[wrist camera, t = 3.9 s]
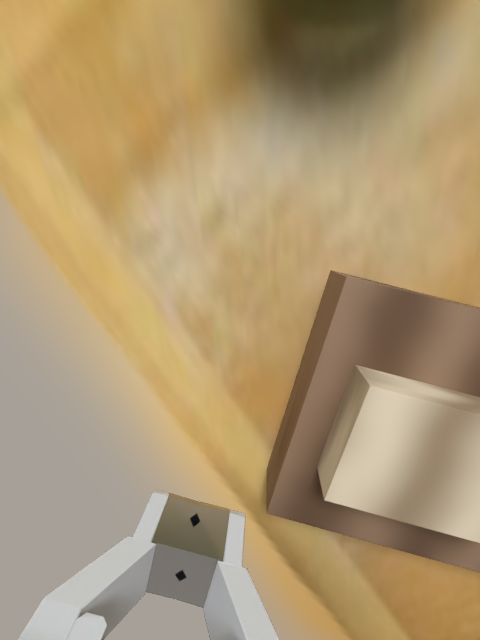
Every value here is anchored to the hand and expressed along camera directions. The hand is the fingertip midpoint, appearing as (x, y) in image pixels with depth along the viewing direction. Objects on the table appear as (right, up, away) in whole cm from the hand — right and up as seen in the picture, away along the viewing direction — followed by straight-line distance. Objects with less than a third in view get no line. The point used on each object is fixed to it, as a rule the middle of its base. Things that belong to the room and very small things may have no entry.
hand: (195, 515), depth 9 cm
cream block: (+12, -1, +8) cm, 14 cm away
